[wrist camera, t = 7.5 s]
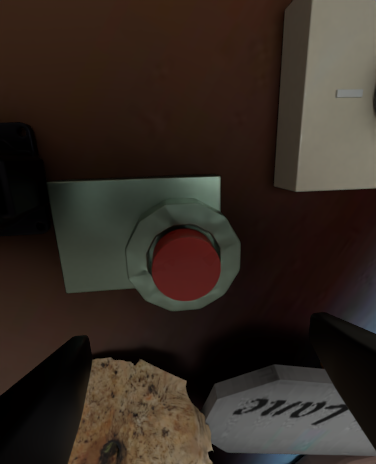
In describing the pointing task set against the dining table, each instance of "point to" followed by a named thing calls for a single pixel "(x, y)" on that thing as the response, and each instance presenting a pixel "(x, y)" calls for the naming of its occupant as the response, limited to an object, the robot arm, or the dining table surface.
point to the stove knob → (375, 101)
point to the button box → (137, 231)
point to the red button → (185, 265)
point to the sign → (283, 414)
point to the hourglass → (336, 459)
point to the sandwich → (139, 418)
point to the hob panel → (327, 97)
